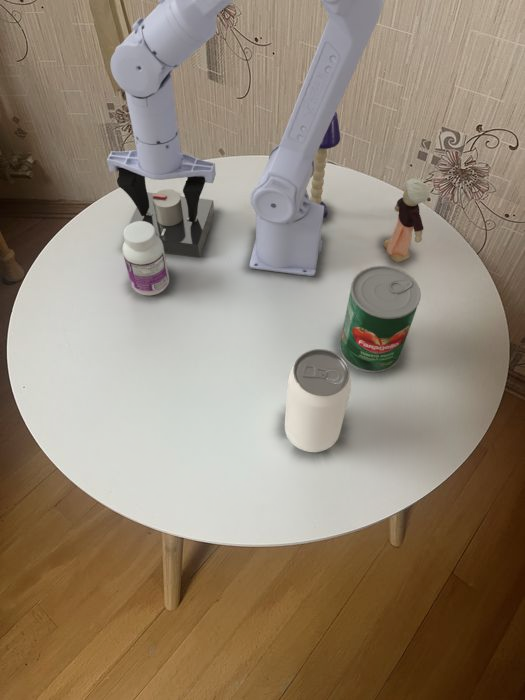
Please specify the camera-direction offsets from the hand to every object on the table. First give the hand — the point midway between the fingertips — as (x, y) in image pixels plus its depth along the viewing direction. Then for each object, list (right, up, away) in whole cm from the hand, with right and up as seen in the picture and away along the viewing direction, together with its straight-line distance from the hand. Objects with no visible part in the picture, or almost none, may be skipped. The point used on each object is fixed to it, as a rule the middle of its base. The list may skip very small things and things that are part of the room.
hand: (169, 214), depth 83 cm
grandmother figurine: (+34, -6, 0) cm, 34 cm away
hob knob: (0, 0, 0) cm, 0 cm away
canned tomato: (+28, -20, -10) cm, 35 cm away
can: (+20, -29, -17) cm, 39 cm away
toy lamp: (+22, +2, +5) cm, 23 cm away
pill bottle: (-2, -11, -4) cm, 11 cm away
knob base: (0, -2, +2) cm, 3 cm away
